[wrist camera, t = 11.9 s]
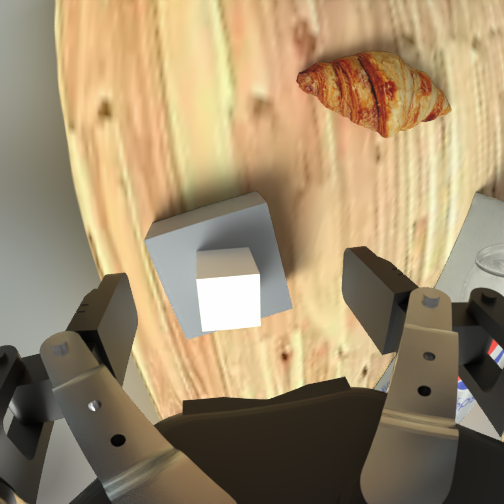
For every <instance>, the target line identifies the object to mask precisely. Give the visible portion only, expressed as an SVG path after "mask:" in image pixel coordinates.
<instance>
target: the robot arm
mask: <svg viewBox="0 0 504 504" xmlns="http://www.w3.org/2000/svg"><path fill="white" fill-rule="evenodd" d="M342 294H343V298H344V300H345V302H346V304H347V305H348V307H349V308H350V309H351V311H352V312H353V314H354V315H355V316H356V318H357V319H358V321H359V322H360V323H361V325H362V326H363V328H364V329H365V331H366V332H367V333H368V335H369V336H370V338H371V339H372V341H373V342H374V344H375V345H376V347H377V348H378V349H379V351H380V352H381V354H382V355H384V354H388V353H392V352H396V353H397V355H396V359H395V363H394V366H393V370H392V374H391V378H390V381H389V385H388V388H387V392H386V393H385V392H382V391H379V390H375V389H369V388H360V387H350V385H349V383H348V381H347V379H346V377H341V378H337V379H332V380H327V381H323V382H318V383H313V384H308V385H305V386H303V387H300V388H298V389H295V390H292V391H290V392H287V393H285V394H282V395H279V396H277V397H274V398H271V399H244V398H230V397H219V398H209V399H197V400H184V401H183V413H179V414H176V415H173V416H171V417H168V418H166V419H164V420H162V421H160V422H158V423H157V424H155V425H152V423H151V422H150V421H149V420H148V419H147V418H146V417H145V415H144V414H143V413H142V412H141V411H140V409H139V408H138V407H137V406H136V405H135V403H134V402H133V401H132V400H131V399H130V397H129V396H128V395H127V394H126V393H125V391H124V390H123V389H122V385H123V381H124V377H125V372H126V368H127V364H128V360H129V356H130V352H131V349H132V345H133V341H134V337H135V333H136V330H137V325H138V316H137V310H136V306H135V303H134V299H133V295H132V291H131V288H130V284H129V280H128V277H127V275H126V273H117V274H107V275H105V276H104V278H103V280H102V281H101V283H100V285H99V287H98V289H93V290H92V291H91V292H90V293H88V294H87V295H86V296H85V297H84V299H83V301H82V302H81V304H80V306H79V308H78V309H77V311H76V313H75V315H74V316H73V318H72V320H71V322H70V324H69V325H68V327H67V329H66V331H63V332H59V333H56V334H54V335H52V336H50V337H49V338H47V339H46V340H45V341H44V342H43V343H42V345H41V347H40V354H36V355H32V356H28V357H23V358H21V357H20V355H19V353H18V351H17V349H16V348H15V347H14V346H11V345H6V346H1V347H0V504H36V500H37V494H38V489H39V483H40V478H41V473H42V469H43V464H44V460H45V456H46V451H47V447H48V443H49V439H50V435H51V432H52V428H53V424H54V420H58V419H62V418H65V420H66V422H67V424H68V426H69V428H70V430H71V431H72V433H73V435H74V437H75V439H76V441H77V442H78V445H79V446H80V448H81V450H82V452H83V454H84V455H85V457H86V459H87V461H88V462H89V464H90V466H91V467H92V469H93V471H94V472H95V474H96V475H97V478H96V479H95V480H94V481H93V482H92V483H91V484H90V485H89V486H88V487H87V488H86V489H84V490H83V492H81V493H80V494H79V495H78V496H77V497H76V498H75V499H73V500H72V501H71V502H70V503H69V504H504V368H503V370H502V369H501V368H500V367H499V365H498V364H497V363H496V362H495V361H494V360H493V358H492V357H491V356H490V355H489V354H488V352H489V349H490V347H491V344H492V342H493V339H494V340H495V341H496V342H497V343H498V345H499V346H500V347H501V348H502V349H503V350H504V296H503V295H501V294H500V293H498V292H497V291H495V290H492V289H489V288H483V287H479V288H475V289H473V290H472V291H471V292H470V296H469V300H468V302H451V299H450V297H449V296H448V295H447V294H446V293H444V292H443V291H441V290H438V289H435V288H429V287H421V288H419V287H418V286H417V285H416V284H415V283H413V282H412V281H411V280H410V279H409V278H408V277H407V276H406V275H403V273H402V272H401V271H400V270H399V269H398V270H397V267H395V266H394V265H393V264H392V263H391V262H389V261H387V260H385V259H383V258H380V257H377V256H376V255H375V254H374V253H373V252H372V251H371V250H369V249H368V248H367V247H366V246H361V247H353V248H346V249H345V252H344V259H343V275H342ZM458 376H459V378H460V379H461V380H462V382H463V383H464V385H465V386H466V387H467V389H468V390H469V391H470V393H471V394H472V396H473V397H474V399H475V400H476V401H477V403H478V404H479V406H480V407H481V409H482V410H483V412H484V413H485V414H486V416H487V417H488V419H489V420H490V422H491V423H492V425H493V426H494V428H495V430H496V431H497V432H498V434H499V436H500V437H501V439H502V440H501V441H500V440H496V439H494V438H492V437H489V436H487V435H484V434H481V433H479V432H476V431H474V430H471V429H469V428H466V427H464V426H461V425H459V424H457V423H455V418H456V406H457V391H458ZM7 408H9V409H10V410H11V412H12V413H13V415H14V417H13V420H12V422H11V425H10V428H9V431H8V433H7V435H6V434H5V431H4V428H3V419H4V416H5V414H6V411H7Z"/></svg>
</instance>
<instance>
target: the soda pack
mask: <svg viewBox="0 0 504 504" xmlns="http://www.w3.org/2000/svg"><path fill="white" fill-rule="evenodd" d="M479 287H483V288H489V289H492V290H495V291H497V292H498V293H500V294H501V295H503V296H504V201H501V200H499V199H496V198H493V197H490V196H487V195H484V194H481V193H478V192H476V193H475V195H474V198H473V201H472V204H471V207H470V209H469V212H468V215H467V217H466V220H465V222H464V224H463V227H462V229H461V232H460V234H459V236H458V239H457V241H456V243H455V245H454V248H453V250H452V252H451V254H450V257H449V259H448V261H447V263H446V265H445V267H444V269H443V271H442V273H441V276H440V278H439V280H438V282H437V284H436V286H435V289H438V290H441V291H443V292H444V293H446V294H447V295H448V296H449V297H450V299H451V302H468V300H469V296H470V292H471V291H472V290H473V289H475V288H479ZM488 354H489V355H490V356H491V357H492V358H493V360H494V361H495V362H496V363H497V364H498V365H499V367H500V368H501V367H502V365H503V364H504V350H503V349H502V348H501V347H500V346H499V345H498V343H497V342H496V341H495V340H494V339H493V342H492V344H491V347H490V349H489V352H488ZM395 359H396V356H395V358H394V359H393V361H392V363H391V364H390V366H389V367H388V369H387V370H386V372H385V373H384V375H383V376H382V378H381V379H380V381H379V382H378V384H377V385H376V386H375V388H374V389H375V390H379V391H382V392H385V393H386V392H387V388H388V385H389V381H390V378H391V374H392V370H393V366H394V363H395ZM476 402H477V401H476V400H475V399H474V397H473V396H472V394H471V393H470V391H469V390H468V389H467V387H466V386H465V385H464V383H463V382H462V380H461V379H460V378H459V376H458V391H457V406H456V418H455V423H457V424H459V423H460V422H461V421H462V420H463V419H464V417H465V416H466V415H467V414H468V412H469V411H470V410H471V409H472V407H473V406H474V405H475V404H476Z"/></svg>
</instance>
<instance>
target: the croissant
mask: <svg viewBox="0 0 504 504" xmlns="http://www.w3.org/2000/svg"><path fill="white" fill-rule="evenodd" d="M296 81H297V83H298V84H299V87H300V88H301V89H302V90H303V91H304V92H306V93H308V94H312V95H314V96H317V97H318V99H319V100H320V102H321V103H322V104H323V105H324V106H325V107H326V108H328V109H330V110H332V111H335V112H337V113H339V114H341V115H342V116H344V117H348V118H350V120H351V121H352V122H354V123H356V124H358V125H360V126H363V127H366V128H370V129H372V130H374V131H377V132H379V134H380V135H381V136H382V137H384V138H390V137H393V136H394V135H395V134H396V133H398V132H399V131H405V130H406V129H410V128H412V127H414V126H416V125H417V124H418V123H419V122H427V121H431V120H434V119H436V118H437V117H441V116H446V115H447V114H448V113H450V112H451V107H450V105H449V103H448V102H447V99H446V96H445V95H444V93H443V92H442V90H441V89H437V88H436V87H435V85H434V84H433V82H432V81H431V79H430V77H429V76H428V75H426V73H425V72H422V71H418V70H414V69H412V68H411V67H409V65H407V64H406V63H405V62H404V61H403V60H402V59H401V58H400V57H399V56H397V55H396V54H393V53H389V52H381V51H369V52H363V53H359V54H356V55H353V56H349V57H344V58H340V59H337V60H334V61H332V62H330V63H323V62H321V63H316V64H315V65H313V66H312V67H310V68H309V69H307V70H305V71H303V72H299V74H298V76H297V80H296Z"/></svg>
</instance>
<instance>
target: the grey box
mask: <svg viewBox="0 0 504 504" xmlns="http://www.w3.org/2000/svg"><path fill="white" fill-rule="evenodd" d="M144 241H145V244H146V246H147V249H148V252H149V254H150V257H151V259H152V261H153V264H154V266H155V269H156V271H157V274H158V276H159V278H160V281H161V283H162V286H163V288H164V290H165V293H166V295H167V297H168V299H169V302H170V304H171V306H172V308H173V311H174V313H175V315H176V317H177V320H178V322H179V324H180V326H181V328H182V330H183V333H184V335H185V337H186V339H191V338H195V337H198V336H202V335H205V334H209V333H213V332H216V331H220V330H215V331H204V332H202V324H201V316H200V307H199V299H198V290H197V281H196V251H205V250H218V249H231V248H243V247H249V249H250V252H251V254H252V256H253V259H254V261H255V263H256V266H257V268H258V271H259V273H260V318H263V317H267V316H270V315H273V314H276V313H279V312H283V311H286V310H289V309H292V308H293V307H292V303H291V299H290V295H289V290H288V286H287V282H286V278H285V274H284V269H283V265H282V261H281V257H280V253H279V249H278V245H277V241H276V237H275V233H274V229H273V225H272V221H271V217H270V213H269V209H268V205H267V202H266V201H265V200H264V199H263V197H262V196H261V195H260V194H259V193H258V192H257V191H255V192H251V193H248V194H244V195H241V196H238V197H234V198H231V199H227V200H224V201H221V202H217V203H214V204H211V205H208V206H204V207H201V208H198V209H195V210H192V211H188V212H185V213H182V214H179V215H176V216H173V217H170V218H167V219H164V220H161V221H158V222H155V223H152V225H151V227H150V229H149V231H148V233H147V235H146V237H145V240H144Z"/></svg>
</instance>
